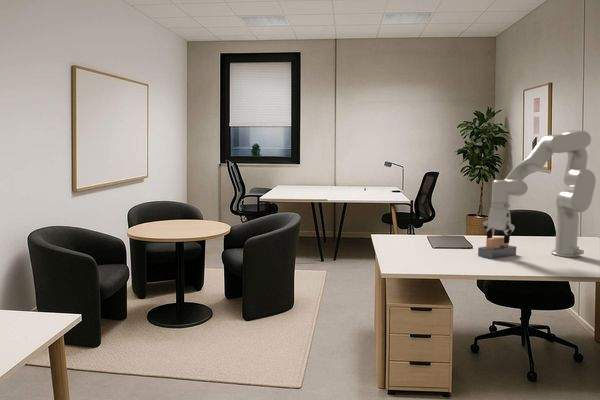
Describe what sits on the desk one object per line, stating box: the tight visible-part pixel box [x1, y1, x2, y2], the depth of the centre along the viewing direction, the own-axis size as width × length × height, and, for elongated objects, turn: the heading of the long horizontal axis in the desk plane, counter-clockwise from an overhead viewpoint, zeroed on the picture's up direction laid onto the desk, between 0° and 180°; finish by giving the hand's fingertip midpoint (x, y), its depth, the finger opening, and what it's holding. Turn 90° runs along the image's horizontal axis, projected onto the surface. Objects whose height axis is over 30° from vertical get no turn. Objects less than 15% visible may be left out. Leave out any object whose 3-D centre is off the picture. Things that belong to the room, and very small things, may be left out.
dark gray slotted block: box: [477, 244, 517, 260], centre depth 271 cm, size 8×18×4 cm, turn 124°
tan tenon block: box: [485, 235, 510, 249], centre depth 271 cm, size 3×13×8 cm, turn 124°
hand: (497, 241), depth 270 cm, fingers open, 9 cm apart
